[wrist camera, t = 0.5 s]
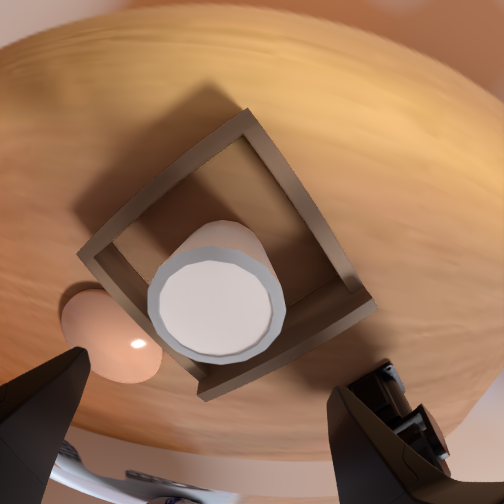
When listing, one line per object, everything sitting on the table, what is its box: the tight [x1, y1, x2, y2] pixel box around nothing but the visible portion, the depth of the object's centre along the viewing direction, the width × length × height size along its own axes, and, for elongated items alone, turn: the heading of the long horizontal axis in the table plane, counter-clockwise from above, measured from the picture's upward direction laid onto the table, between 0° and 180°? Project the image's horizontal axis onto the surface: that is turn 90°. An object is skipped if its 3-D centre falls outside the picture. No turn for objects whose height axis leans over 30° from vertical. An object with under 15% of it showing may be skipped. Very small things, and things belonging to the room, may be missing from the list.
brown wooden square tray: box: [76, 108, 378, 402], centre depth 18 cm, size 14×14×4 cm
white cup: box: [148, 220, 286, 365], centre depth 17 cm, size 7×7×7 cm
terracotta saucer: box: [61, 289, 163, 383], centre depth 22 cm, size 10×10×1 cm
